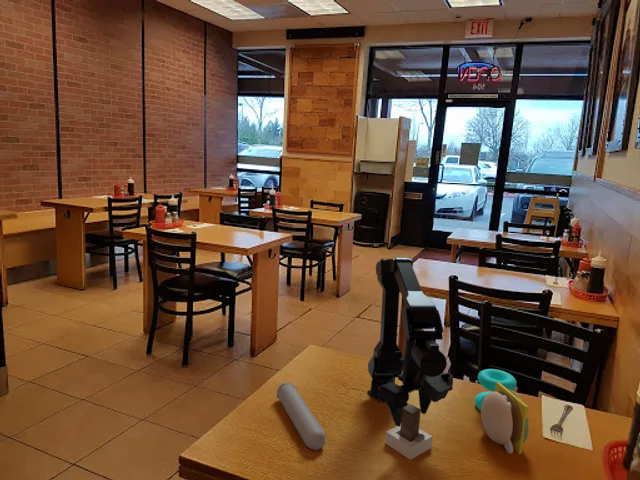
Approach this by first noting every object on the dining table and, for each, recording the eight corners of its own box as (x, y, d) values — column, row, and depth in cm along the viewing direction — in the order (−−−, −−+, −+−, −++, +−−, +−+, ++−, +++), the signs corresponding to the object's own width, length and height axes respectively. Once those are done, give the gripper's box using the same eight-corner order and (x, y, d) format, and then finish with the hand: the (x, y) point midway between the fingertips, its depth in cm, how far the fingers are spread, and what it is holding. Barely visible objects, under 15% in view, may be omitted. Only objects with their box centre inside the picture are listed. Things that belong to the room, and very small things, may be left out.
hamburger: (472, 426, 122) (477, 383, 120) (501, 424, 124) (507, 381, 122) (498, 455, 111) (504, 408, 109) (530, 452, 112) (537, 406, 110)
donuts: (517, 371, 133) (517, 387, 124) (512, 404, 134) (512, 422, 125) (479, 364, 136) (477, 378, 127) (475, 396, 138) (473, 413, 129)
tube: (333, 434, 109) (297, 383, 132) (312, 431, 107) (280, 380, 130) (324, 456, 109) (291, 401, 132) (304, 453, 107) (273, 398, 130)
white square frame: (406, 432, 118) (407, 417, 117) (431, 447, 112) (432, 432, 112) (385, 443, 113) (386, 427, 112) (410, 459, 107) (411, 443, 107)
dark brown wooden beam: (407, 438, 115) (410, 404, 113) (417, 444, 112) (420, 409, 111) (399, 442, 113) (402, 407, 111) (409, 449, 111) (412, 413, 109)
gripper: (418, 381, 97) (411, 450, 99) (470, 359, 108) (463, 422, 111) (378, 361, 105) (373, 426, 108) (431, 343, 117) (425, 402, 120)
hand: (410, 419), depth 111 cm, fingers open, 9 cm apart
